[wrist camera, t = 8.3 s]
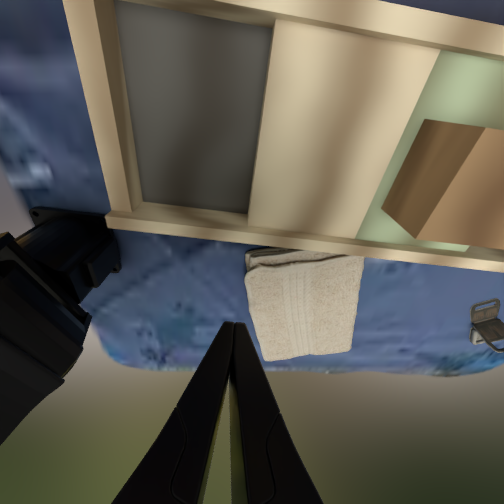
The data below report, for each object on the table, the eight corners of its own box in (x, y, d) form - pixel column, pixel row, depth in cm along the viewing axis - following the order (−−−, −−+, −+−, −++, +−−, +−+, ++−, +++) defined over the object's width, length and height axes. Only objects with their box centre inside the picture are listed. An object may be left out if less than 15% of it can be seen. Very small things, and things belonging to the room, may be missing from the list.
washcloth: (358, 228, 22) (371, 245, 19) (348, 339, 32) (356, 360, 29) (237, 247, 23) (235, 266, 21) (264, 348, 33) (265, 369, 31)
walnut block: (380, 208, 17) (415, 239, 14) (424, 118, 14) (485, 127, 10) (453, 217, 18) (505, 249, 14) (512, 132, 15) (602, 145, 11)
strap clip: (492, 334, 31) (522, 364, 28) (467, 340, 32) (493, 371, 28) (497, 294, 27) (534, 325, 23) (467, 303, 28) (499, 333, 24)
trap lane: (128, 208, 20) (107, 227, 17) (83, -32, 12) (31, -70, 9) (534, 257, 23) (574, 280, 20) (708, 89, 15) (814, 88, 12)
